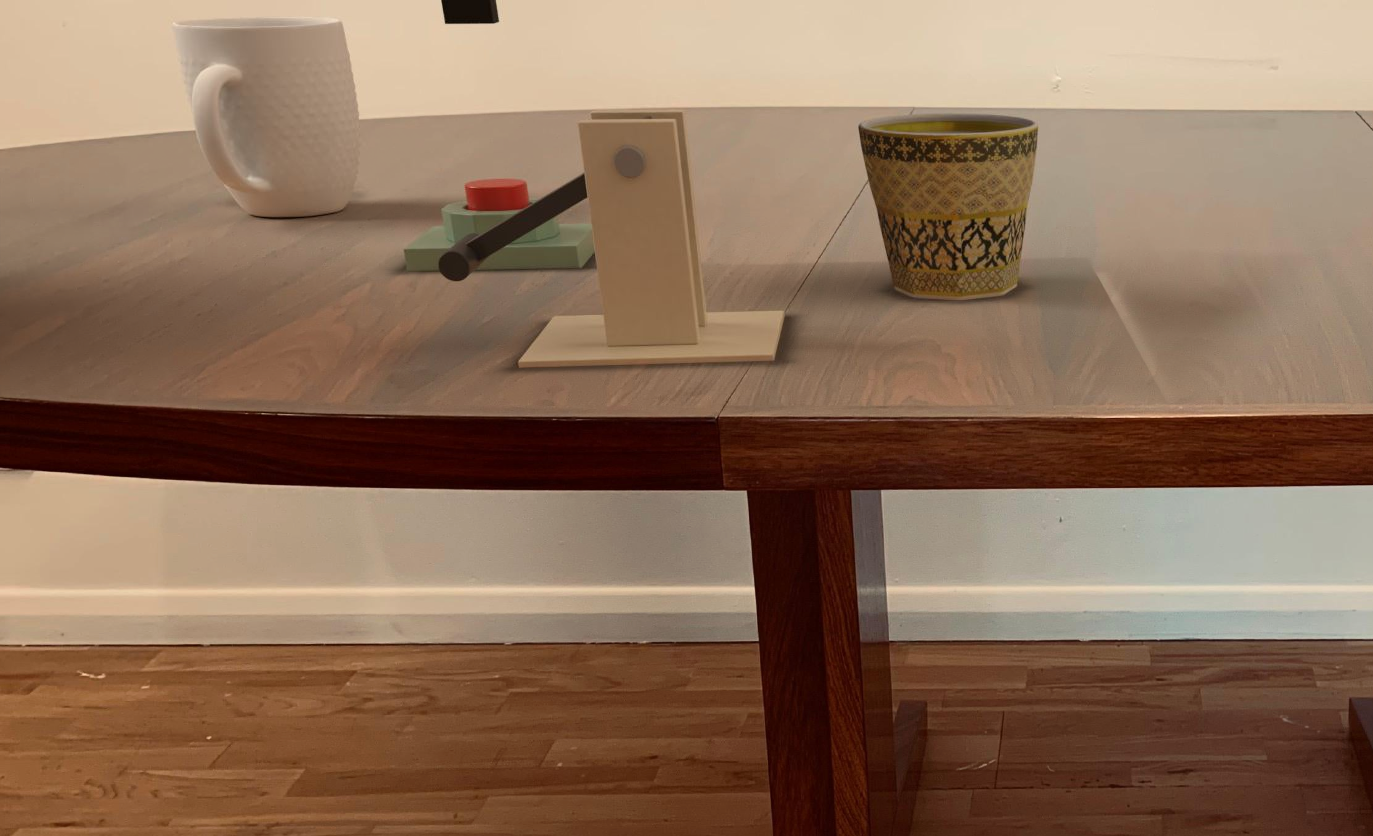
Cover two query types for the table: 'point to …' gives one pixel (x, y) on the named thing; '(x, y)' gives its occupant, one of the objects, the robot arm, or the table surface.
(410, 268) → the button box
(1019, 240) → the ceramic cup
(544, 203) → the lever
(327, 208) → the mug
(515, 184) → the button
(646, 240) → the bracket
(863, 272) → the table surface
